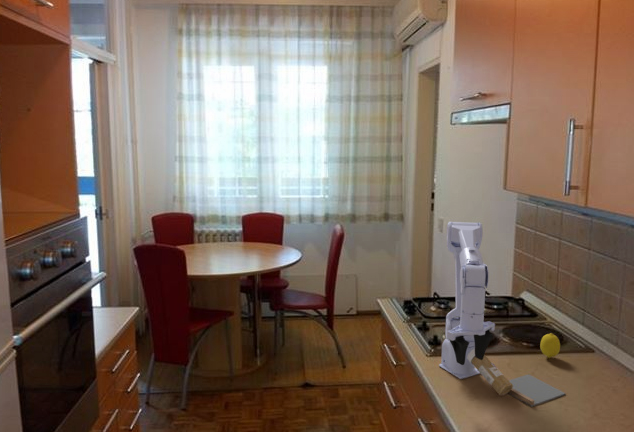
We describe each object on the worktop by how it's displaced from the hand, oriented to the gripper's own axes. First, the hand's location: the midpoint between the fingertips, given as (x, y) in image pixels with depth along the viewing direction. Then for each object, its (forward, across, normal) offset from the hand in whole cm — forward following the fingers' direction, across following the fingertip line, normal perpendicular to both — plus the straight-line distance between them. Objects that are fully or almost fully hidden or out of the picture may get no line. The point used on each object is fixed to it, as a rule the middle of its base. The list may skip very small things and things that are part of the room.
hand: (469, 360), depth 133 cm
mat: (+10, +18, -5) cm, 21 cm away
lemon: (+10, +39, +6) cm, 41 cm away
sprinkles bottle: (+8, +9, -5) cm, 13 cm away
